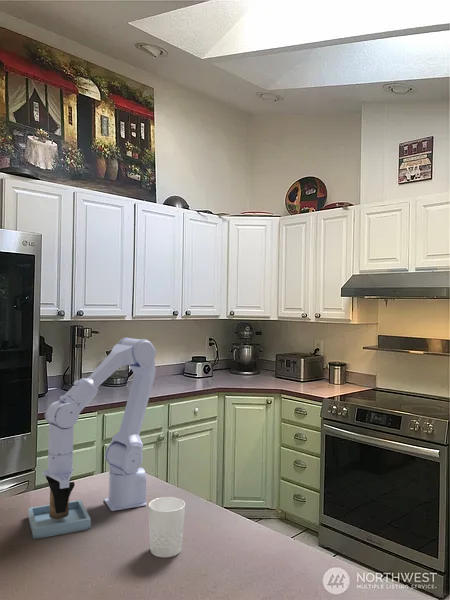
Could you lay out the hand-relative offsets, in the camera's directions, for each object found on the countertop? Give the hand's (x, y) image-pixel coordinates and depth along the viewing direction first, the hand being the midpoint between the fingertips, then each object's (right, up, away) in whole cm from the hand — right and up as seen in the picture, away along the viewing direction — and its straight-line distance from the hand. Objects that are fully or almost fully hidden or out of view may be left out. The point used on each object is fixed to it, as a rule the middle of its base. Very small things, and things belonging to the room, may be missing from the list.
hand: (59, 508), depth 118 cm
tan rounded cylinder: (0, -2, 0) cm, 2 cm away
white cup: (+27, -4, -12) cm, 30 cm away
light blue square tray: (0, -4, 0) cm, 3 cm away
